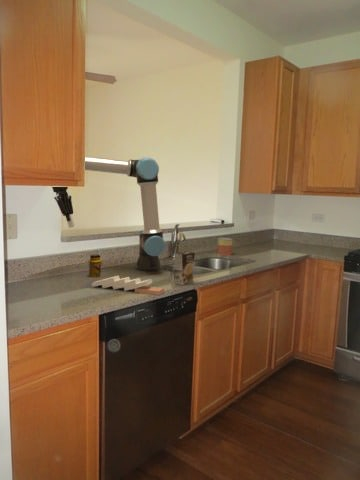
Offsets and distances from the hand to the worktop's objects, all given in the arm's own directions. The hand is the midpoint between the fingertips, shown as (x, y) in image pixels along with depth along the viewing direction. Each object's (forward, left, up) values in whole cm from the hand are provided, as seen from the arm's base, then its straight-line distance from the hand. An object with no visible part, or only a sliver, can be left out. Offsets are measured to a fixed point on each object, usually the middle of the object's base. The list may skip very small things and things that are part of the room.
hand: (72, 227), depth 206 cm
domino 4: (+13, +38, -25) cm, 47 cm away
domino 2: (+13, +26, -25) cm, 39 cm away
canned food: (-113, +60, -27) cm, 131 cm away
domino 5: (+13, +43, -25) cm, 51 cm away
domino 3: (+13, +32, -25) cm, 43 cm away
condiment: (-5, +10, -27) cm, 29 cm away
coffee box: (-13, +58, -27) cm, 65 cm away
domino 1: (+13, +21, -25) cm, 35 cm away
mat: (+12, +31, -27) cm, 42 cm away
